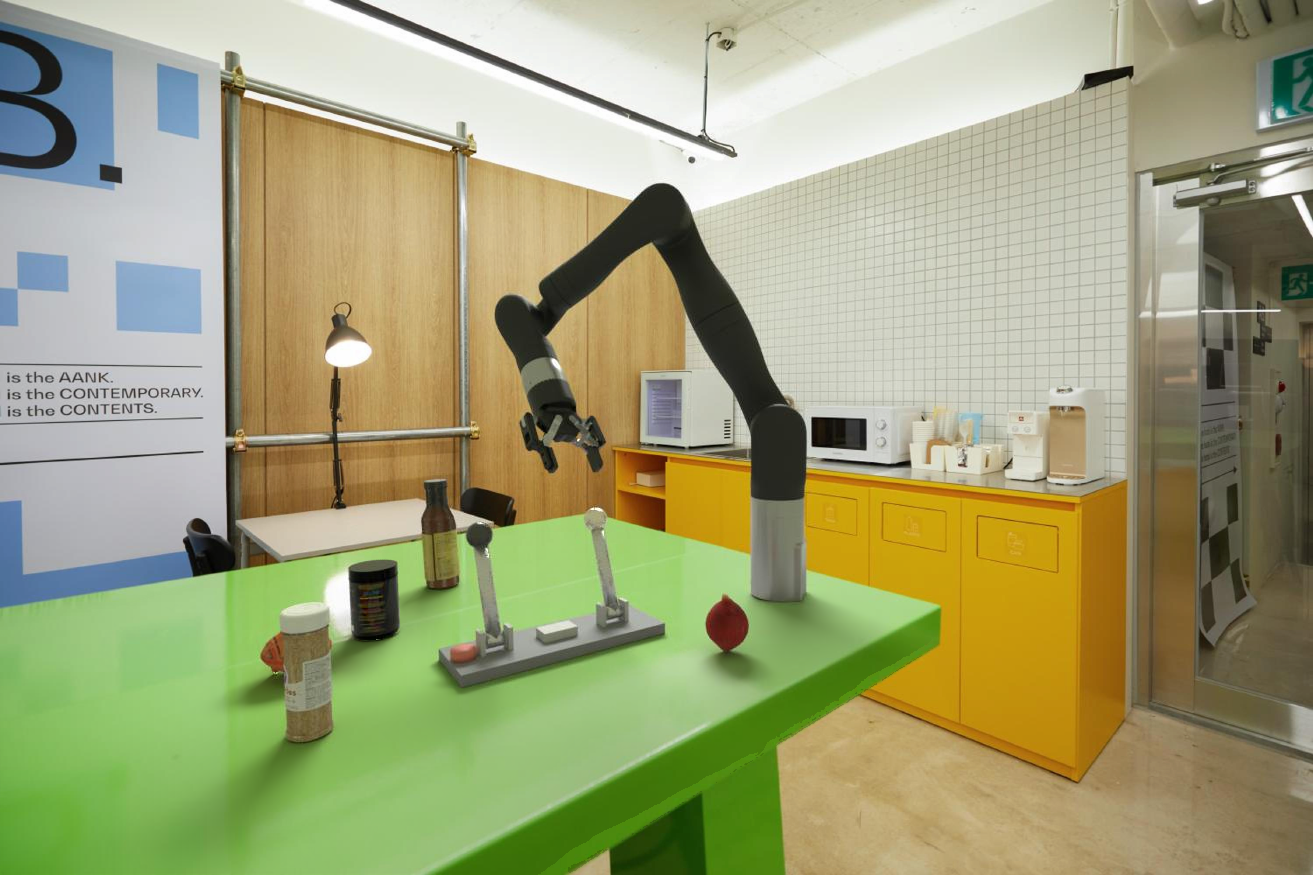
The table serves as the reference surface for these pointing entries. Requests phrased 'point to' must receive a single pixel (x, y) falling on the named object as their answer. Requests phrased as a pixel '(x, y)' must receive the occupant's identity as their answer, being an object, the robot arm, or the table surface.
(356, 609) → the supplement container
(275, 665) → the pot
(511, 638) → the switch panel
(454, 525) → the sauce bottle
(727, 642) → the onion
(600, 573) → the metal lever
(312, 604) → the sprinkles bottle
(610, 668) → the table surface
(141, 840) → the table surface
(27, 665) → the table surface
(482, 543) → the silver metal rod
